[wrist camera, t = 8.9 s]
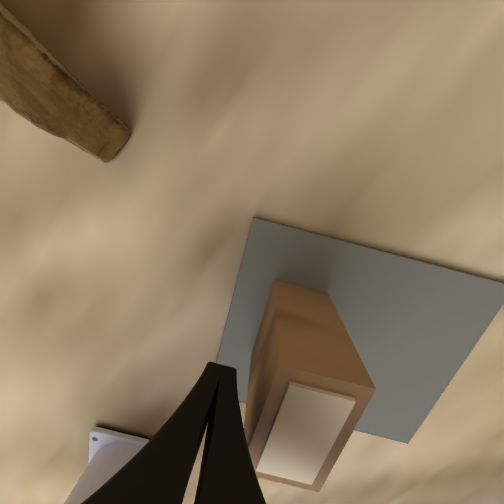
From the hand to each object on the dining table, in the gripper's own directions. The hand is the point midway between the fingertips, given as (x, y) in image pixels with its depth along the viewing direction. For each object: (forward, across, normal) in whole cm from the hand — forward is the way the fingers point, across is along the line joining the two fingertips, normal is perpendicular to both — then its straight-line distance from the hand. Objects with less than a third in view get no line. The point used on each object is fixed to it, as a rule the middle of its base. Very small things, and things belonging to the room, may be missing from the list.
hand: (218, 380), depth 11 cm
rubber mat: (+5, -8, 0) cm, 9 cm away
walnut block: (+5, -4, 0) cm, 6 cm away
